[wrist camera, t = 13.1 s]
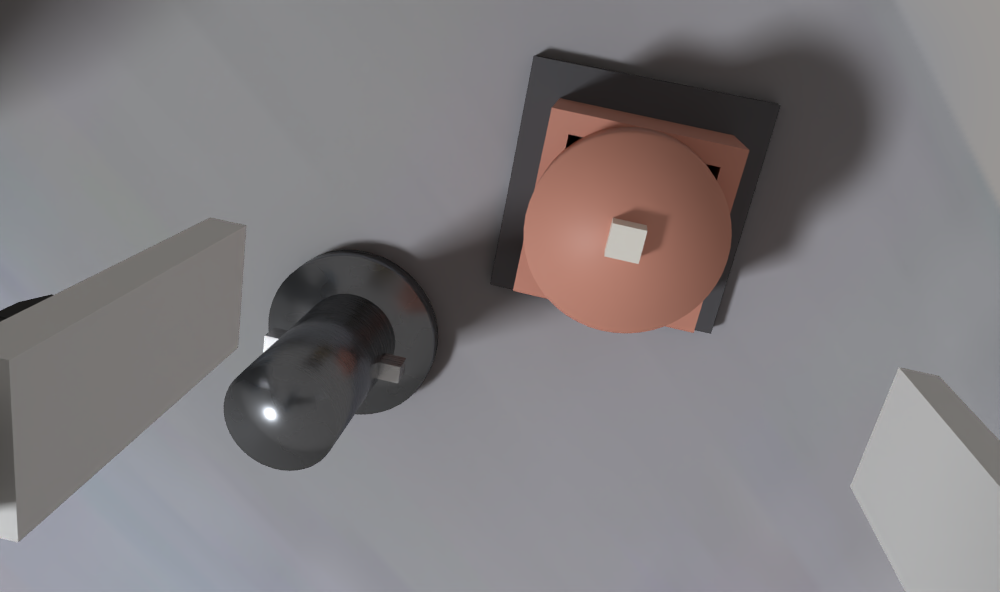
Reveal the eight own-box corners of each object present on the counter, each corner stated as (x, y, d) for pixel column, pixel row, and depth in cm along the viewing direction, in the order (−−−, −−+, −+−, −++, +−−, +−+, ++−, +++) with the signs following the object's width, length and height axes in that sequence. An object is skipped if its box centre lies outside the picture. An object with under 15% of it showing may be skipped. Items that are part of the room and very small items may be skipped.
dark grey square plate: (492, 280, 35) (490, 284, 35) (535, 55, 32) (533, 56, 31) (709, 328, 35) (711, 333, 34) (777, 104, 31) (780, 105, 31)
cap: (524, 261, 34) (503, 315, 28) (559, 98, 32) (544, 116, 25) (685, 298, 34) (700, 362, 27) (733, 135, 31) (763, 163, 25)
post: (271, 384, 39) (175, 483, 30) (284, 233, 36) (182, 296, 28) (424, 421, 38) (369, 532, 30) (449, 270, 35) (397, 346, 27)
